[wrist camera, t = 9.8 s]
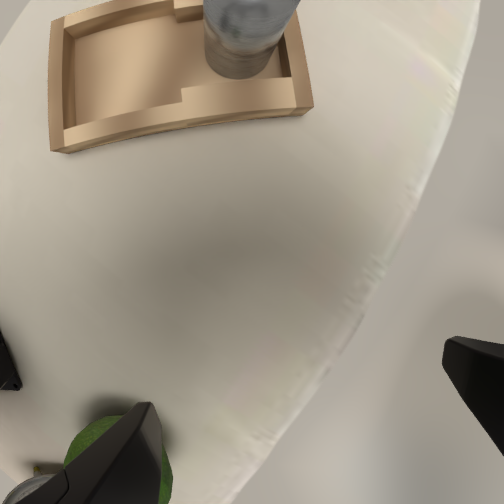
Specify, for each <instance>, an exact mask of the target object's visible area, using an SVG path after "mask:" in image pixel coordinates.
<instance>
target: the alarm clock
mask: <svg viewBox="0 0 504 504" xmlns="http://www.w3.org/2000/svg"><path fill="white" fill-rule="evenodd" d="M54 475H55V474H44V475H42V473H41V471H40V469H39V468H38V467H34V477H33V478H30V479H28V480H26V481H24V482H22V483H21V484H19V485H18V486H17V487H16V488H14V489H13V490H12V491H11V492H10V493H9V494H8V495H7V497H6V499H5V500H4V501H3V503H2V504H15V503H16V502H18V501H19V500H21V499H22V498H24V497H25V496H27V495H28V494H30V493H31V492H33V491H34V490H36V489H37V488H39V487H40V486H41V485H43V484H44V483H45V482H47V481H48V480H49V479H50V478H52V477H53V476H54Z"/></svg>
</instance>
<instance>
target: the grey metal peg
mask: <svg viewBox="0 0 504 504" xmlns="http://www.w3.org/2000/svg"><path fill="white" fill-rule="evenodd" d="M299 2H300V0H203V20H204V49H205V58H206V61H207V63H208V65H209V66H210V67H211V69H212V70H213V71H215V72H216V73H217V74H219V75H221V76H223V77H226V78H229V79H247V78H250V77H253V76H255V75H257V74H258V73H260V72H261V71H262V70H263V69H264V68H265V67H266V65H267V64H268V62H269V60H270V58H271V56H272V54H273V52H274V50H275V48H276V46H277V44H278V42H279V40H280V38H281V36H282V34H283V32H284V30H285V28H286V26H287V24H288V23H289V21H290V19H291V17H292V15H293V13H294V11H295V9H296V8H297V6H298V4H299Z"/></svg>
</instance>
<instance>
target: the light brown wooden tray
mask: <svg viewBox="0 0 504 504" xmlns="http://www.w3.org/2000/svg"><path fill="white" fill-rule="evenodd" d="M313 107H314V103H313V96H312V90H311V84H310V78H309V73H308V67H307V62H306V56H305V51H304V46H303V41H302V36H301V31H300V26H299V22H298V17H297V12H296V9H295V11H294V13H293V15H292V17H291V19H290V21H289V23H288V24H287V26H286V28H285V30H284V32H283V34H282V36H281V38H280V40H279V42H278V44H277V46H276V48H275V50H274V52H273V54H272V56H271V58H270V60H269V62H268V64H267V65H266V67H265V68H264V69H263V70H262V71H261V72H260V73H258V74H257V75H255V76H253V77H250V78H247V79H229V78H226V77H223V76H221V75H219V74H217V73H216V72H215V71H213V70H212V69H211V67H210V66H209V65H208V63H207V61H206V58H205V49H204V20H203V0H113V1H109V2H106V3H103V4H99V5H96V6H93V7H90V8H87V9H84V10H81V11H78V12H75V13H72V14H69V15H67V16H64V17H61V18H59V19H56V20H54V21H51V30H50V42H49V60H48V121H49V139H50V151H53V152H60V153H66V154H70V153H73V152H77V151H80V150H84V149H88V148H92V147H96V146H100V145H104V144H108V143H112V142H117V141H121V140H125V139H130V138H135V137H139V136H144V135H149V134H154V133H160V132H165V131H171V130H176V129H182V128H189V127H195V126H202V125H209V124H216V123H223V122H231V121H240V120H249V119H259V118H271V117H283V116H298V115H304V114H305V113H306V112H308V111H309V110H310V109H312V108H313Z"/></svg>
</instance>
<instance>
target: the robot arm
mask: <svg viewBox="0 0 504 504" xmlns="http://www.w3.org/2000/svg"><path fill="white" fill-rule="evenodd" d="M442 366H443V368H444V370H445V372H446V373H447V374H448V376H449V378H450V379H451V381H452V383H453V385H454V386H455V388H456V389H457V391H458V393H459V395H460V396H461V398H462V399H463V401H464V402H465V403H466V405H467V406H468V408H469V409H470V410H471V412H472V413H473V414H474V416H475V417H476V418H477V420H478V421H479V422H480V424H481V425H482V427H483V428H484V429H485V431H486V432H487V433H488V435H489V436H490V438H491V439H492V440H493V442H494V443H495V444H496V446H497V447H498V449H499V450H500V452H501V453H502V455H503V456H504V344H498V343H493V342H487V341H481V340H476V339H471V338H466V337H460V336H455V337H452V338H449V339H447V340H446V342H445V344H444V352H443V358H442ZM21 388H22V384H21V382H20V379H19V377H18V375H17V373H16V370H15V368H14V366H13V364H12V361H11V359H10V356H9V354H8V351H7V349H6V346H5V344H4V341H3V338H2V336H1V333H0V389H1V390H14V391H19V390H20V389H21ZM64 468H65V469H64ZM64 468H63V469H61V470H60V471H59V472H58V473H57V474H55V475H54V476H53V477H52V478H50V479H49V480H48V481H47V482H45V483H44V484H43V485H41V486H40V487H39V488H37V489H36V490H34V491H33V492H31V493H30V494H28V495H27V496H25V497H24V498H22V499H21V500H19V501H18V502H16V503H15V504H158V503H159V494H160V485H161V475H162V428H161V423H160V420H159V418H158V415H157V413H156V410H155V407H154V405H153V403H151V402H138V403H137V404H135V405H134V406H133V407H132V408H131V409H130V410H129V411H128V412H127V413H125V414H124V415H123V416H122V417H121V418H120V419H119V420H118V421H117V422H115V423H114V424H113V425H112V426H111V427H110V428H109V429H107V430H106V431H105V432H104V433H103V434H102V435H101V436H100V437H98V438H97V439H96V440H95V441H94V442H93V443H92V444H90V445H89V446H88V447H87V448H86V449H85V450H84V451H82V452H81V453H80V454H79V455H78V456H77V457H75V458H74V459H73V460H72V461H71V462H70V463H68V464H67V465H66V466H65V467H64Z"/></svg>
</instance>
